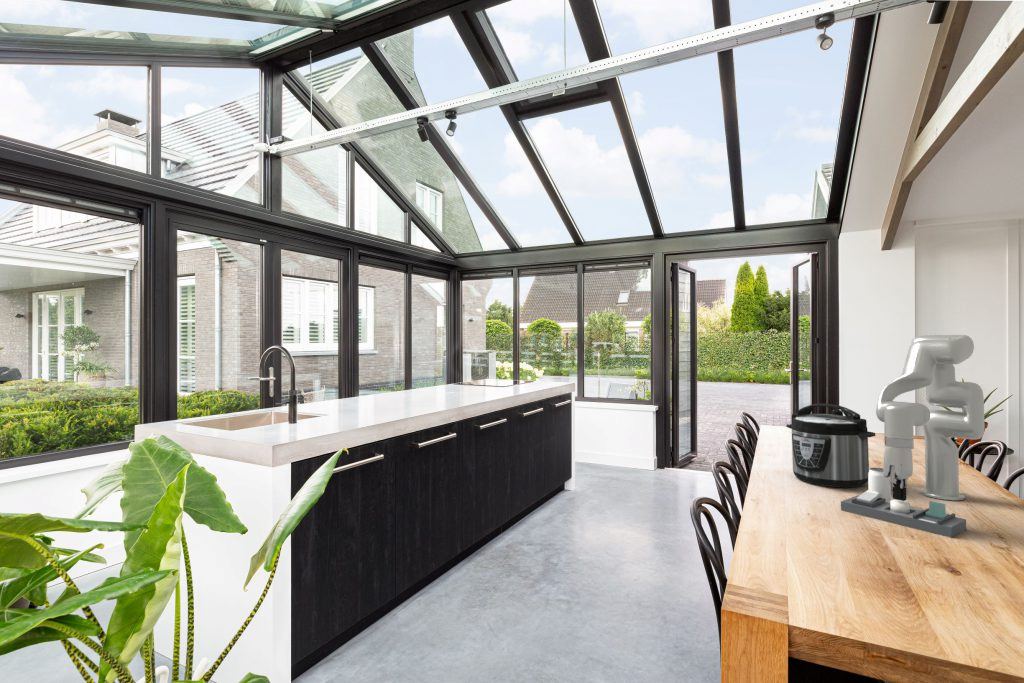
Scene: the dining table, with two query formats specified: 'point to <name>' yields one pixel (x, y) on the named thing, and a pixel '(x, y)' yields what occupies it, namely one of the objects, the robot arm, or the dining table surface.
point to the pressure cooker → (830, 447)
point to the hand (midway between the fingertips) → (899, 499)
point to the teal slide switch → (936, 510)
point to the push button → (900, 506)
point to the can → (879, 483)
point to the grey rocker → (869, 496)
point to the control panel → (906, 517)
